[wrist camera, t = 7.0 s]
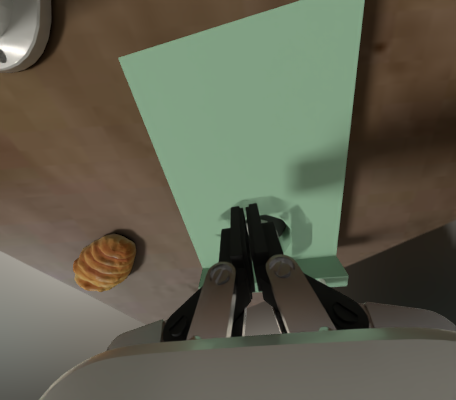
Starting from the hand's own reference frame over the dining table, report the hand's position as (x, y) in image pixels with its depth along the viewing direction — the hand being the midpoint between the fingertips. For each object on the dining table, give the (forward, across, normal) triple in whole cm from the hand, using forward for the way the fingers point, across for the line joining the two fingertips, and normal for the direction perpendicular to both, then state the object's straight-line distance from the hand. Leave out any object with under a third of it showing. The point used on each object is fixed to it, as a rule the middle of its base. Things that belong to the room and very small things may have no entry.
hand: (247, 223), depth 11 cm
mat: (+7, -1, 0) cm, 7 cm away
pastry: (+8, +20, +8) cm, 23 cm away
